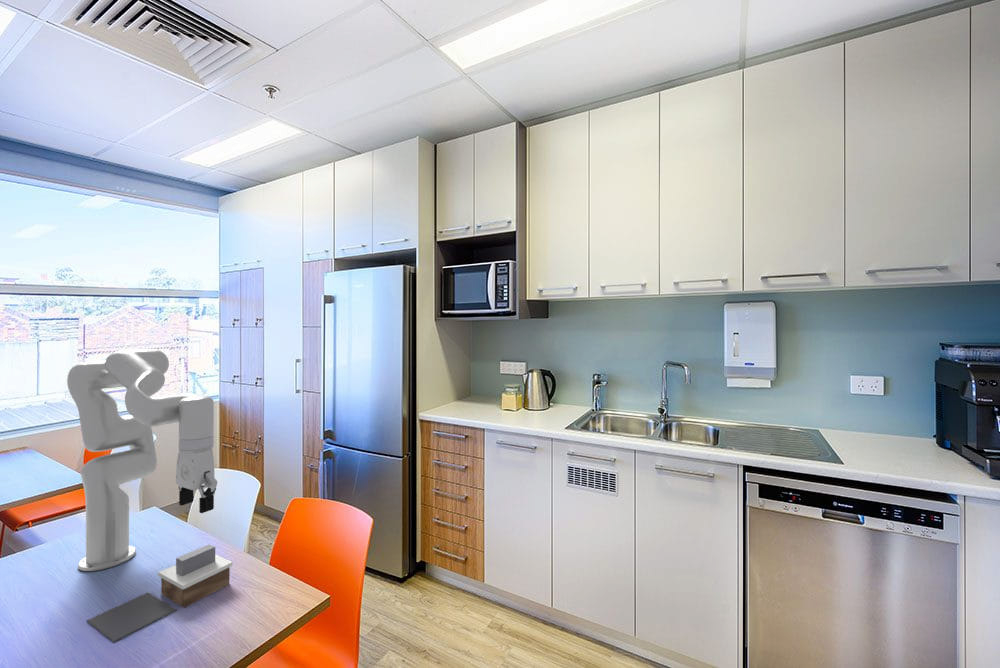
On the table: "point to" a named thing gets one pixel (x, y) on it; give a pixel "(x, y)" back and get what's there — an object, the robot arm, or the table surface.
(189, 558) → the lid
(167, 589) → the box
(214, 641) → the table surface
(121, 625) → the mat
